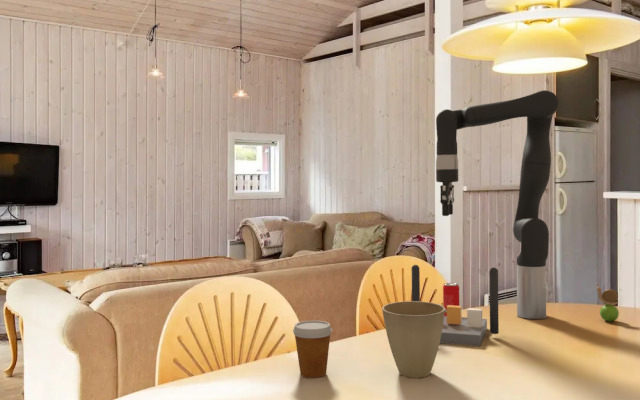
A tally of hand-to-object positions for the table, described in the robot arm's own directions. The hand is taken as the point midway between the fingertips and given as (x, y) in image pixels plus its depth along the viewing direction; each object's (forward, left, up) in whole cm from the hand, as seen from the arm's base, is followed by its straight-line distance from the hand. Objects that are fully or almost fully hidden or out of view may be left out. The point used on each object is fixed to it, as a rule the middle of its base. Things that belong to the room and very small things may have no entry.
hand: (447, 215), depth 201 cm
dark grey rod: (+5, +28, -33) cm, 43 cm away
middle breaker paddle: (-6, +28, -30) cm, 42 cm away
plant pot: (-2, +66, -34) cm, 74 cm away
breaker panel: (-6, +28, -34) cm, 45 cm away
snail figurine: (-50, -3, -34) cm, 61 cm away
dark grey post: (-17, +28, -33) cm, 46 cm away
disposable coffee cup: (+21, +74, -34) cm, 84 cm away
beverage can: (-2, +11, -34) cm, 36 cm away
